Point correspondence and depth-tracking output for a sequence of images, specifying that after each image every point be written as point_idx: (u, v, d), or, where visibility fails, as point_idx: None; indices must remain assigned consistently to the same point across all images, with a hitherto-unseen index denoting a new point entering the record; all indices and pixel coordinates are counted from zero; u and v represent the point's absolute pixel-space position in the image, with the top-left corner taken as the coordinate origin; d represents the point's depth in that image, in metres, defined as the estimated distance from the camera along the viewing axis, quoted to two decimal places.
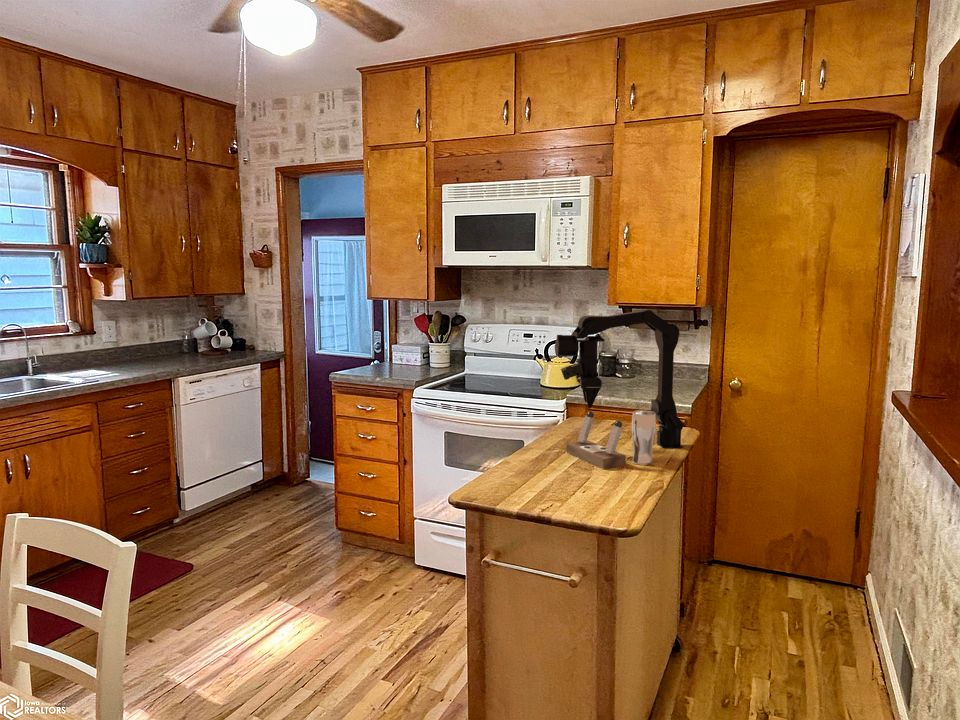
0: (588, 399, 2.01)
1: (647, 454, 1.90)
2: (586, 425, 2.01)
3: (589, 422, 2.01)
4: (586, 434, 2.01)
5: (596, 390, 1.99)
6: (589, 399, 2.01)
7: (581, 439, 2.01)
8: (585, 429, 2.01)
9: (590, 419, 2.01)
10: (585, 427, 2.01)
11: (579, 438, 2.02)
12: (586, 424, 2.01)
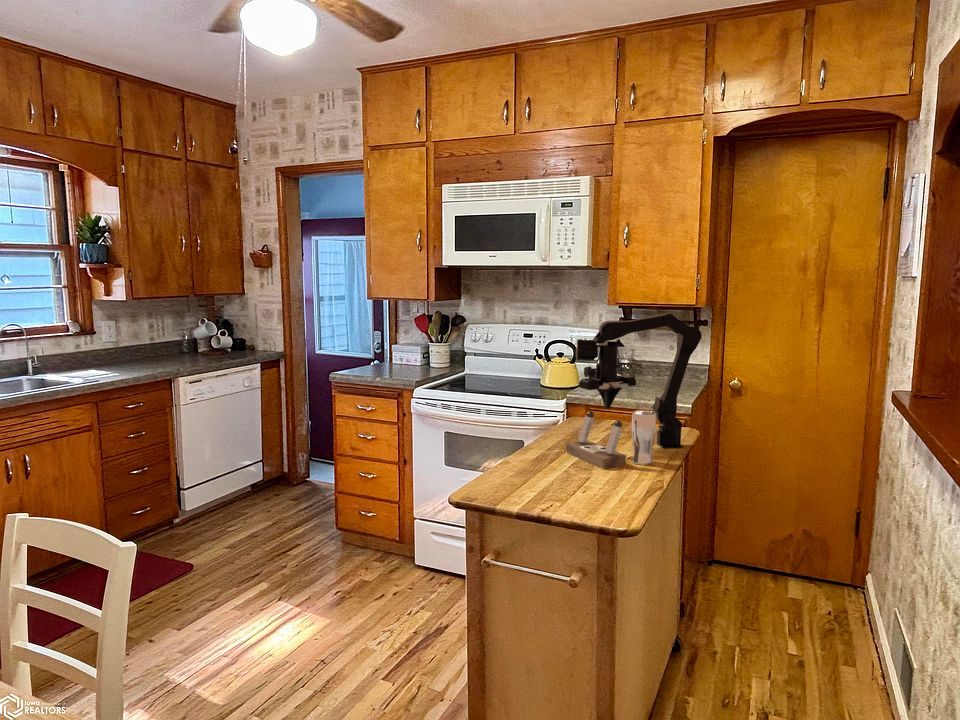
0: (603, 400, 2.10)
1: (647, 454, 1.90)
2: (586, 425, 2.01)
3: (589, 422, 2.01)
4: (586, 434, 2.01)
5: (605, 392, 2.07)
6: (604, 400, 2.09)
7: (581, 439, 2.01)
8: (585, 429, 2.01)
9: (590, 419, 2.01)
10: (585, 427, 2.01)
11: (579, 438, 2.02)
12: (586, 424, 2.01)
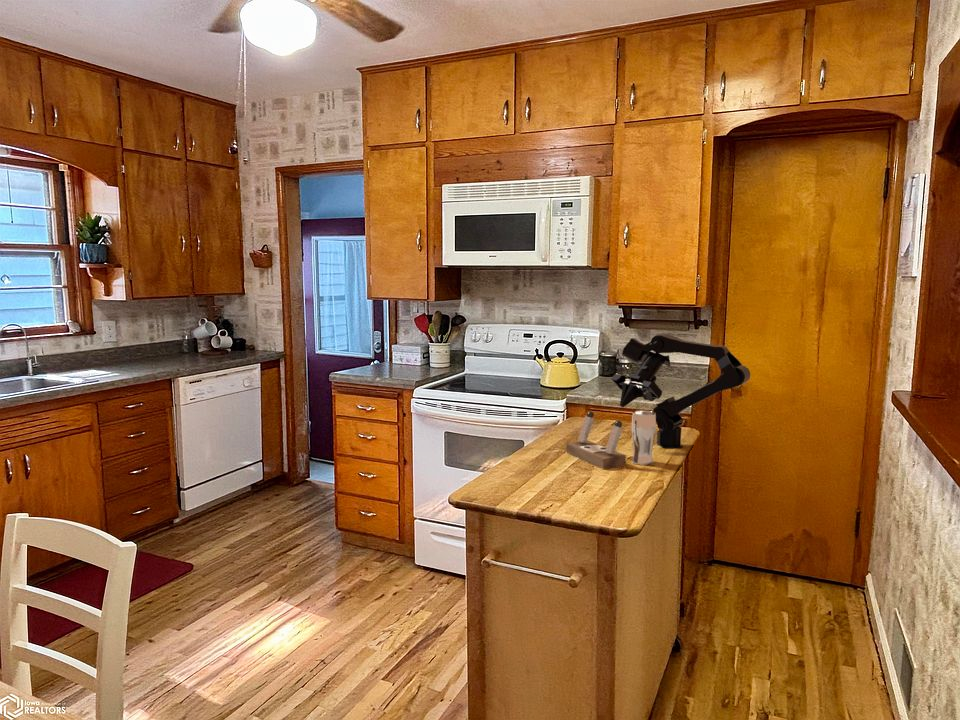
0: None
1: (647, 454, 1.90)
2: (586, 425, 2.01)
3: (589, 422, 2.01)
4: (586, 434, 2.01)
5: None
6: None
7: (581, 439, 2.01)
8: (585, 429, 2.01)
9: (590, 419, 2.01)
10: (585, 427, 2.01)
11: (579, 438, 2.02)
12: (586, 424, 2.01)
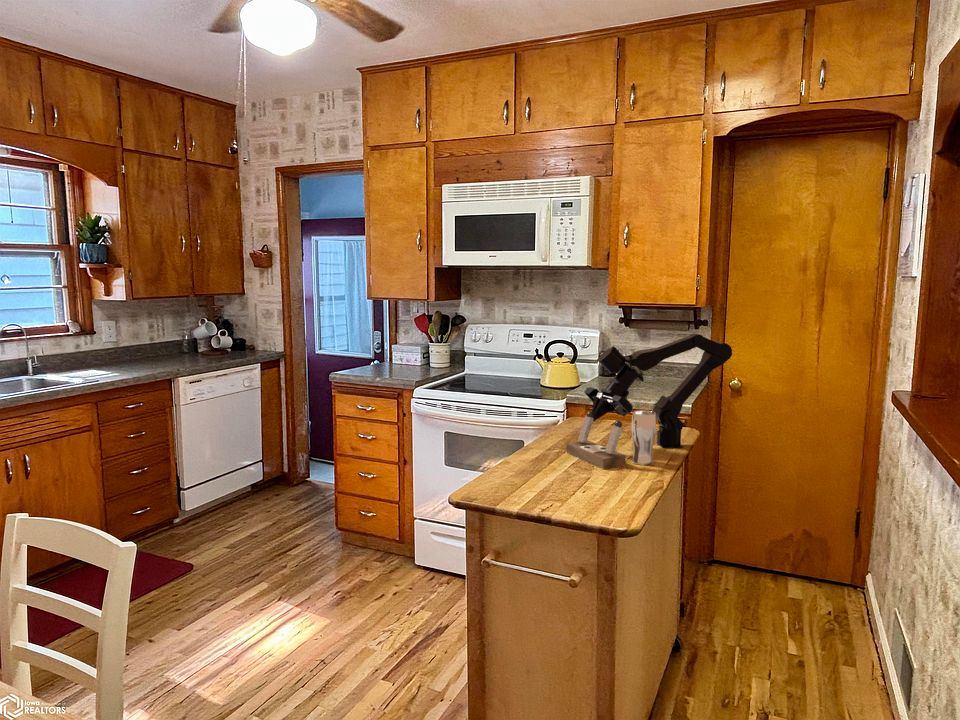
0: None
1: (647, 454, 1.90)
2: (586, 425, 2.01)
3: (589, 422, 2.01)
4: (586, 434, 2.01)
5: None
6: None
7: (581, 439, 2.01)
8: (585, 429, 2.01)
9: (590, 419, 2.01)
10: (585, 427, 2.01)
11: (579, 438, 2.02)
12: (586, 424, 2.01)
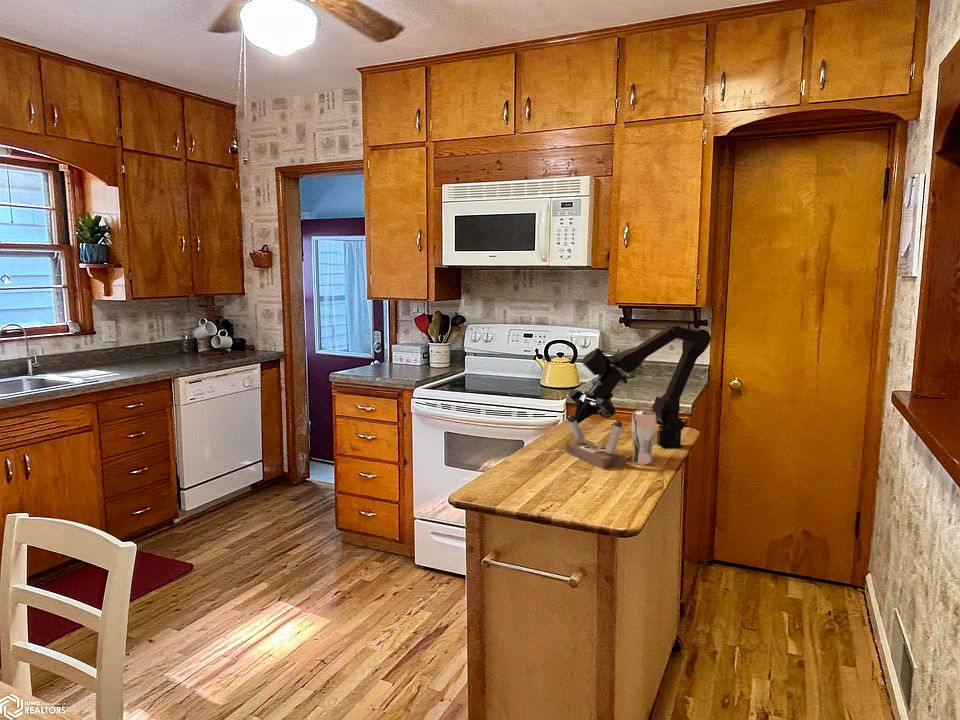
0: None
1: (647, 454, 1.90)
2: (574, 429, 1.99)
3: (575, 426, 1.99)
4: (580, 436, 2.00)
5: None
6: None
7: (580, 441, 2.01)
8: (576, 433, 2.00)
9: (574, 423, 1.98)
10: (575, 431, 2.00)
11: (577, 440, 2.02)
12: (574, 428, 1.99)
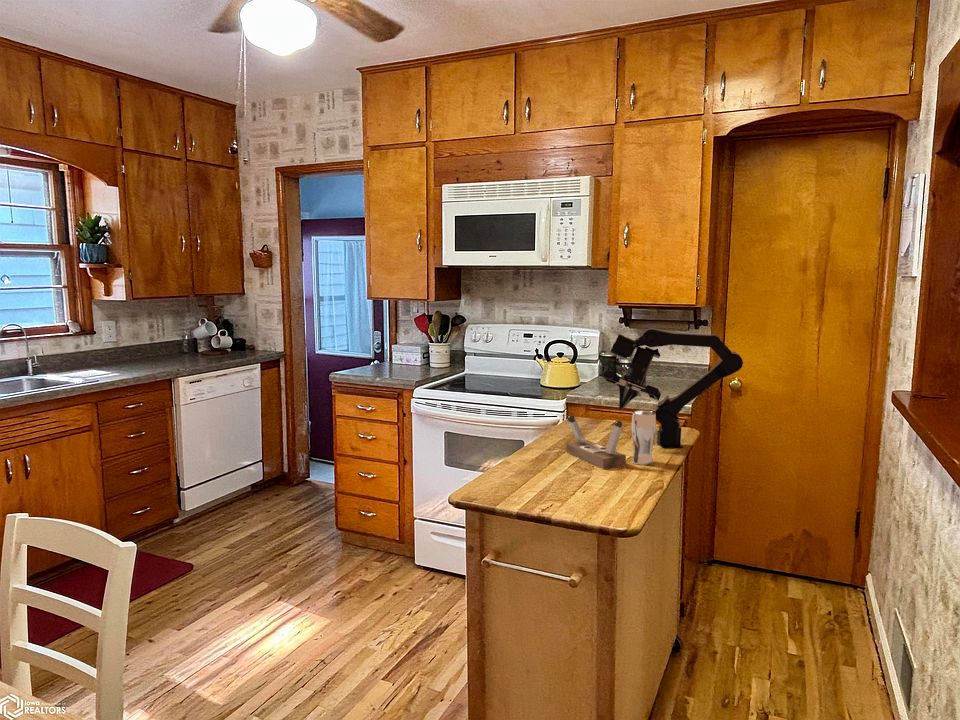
0: None
1: (647, 454, 1.90)
2: (574, 429, 1.99)
3: (575, 426, 1.99)
4: (580, 436, 2.00)
5: None
6: None
7: (580, 441, 2.01)
8: (576, 433, 2.00)
9: (574, 423, 1.98)
10: (575, 431, 2.00)
11: (577, 440, 2.02)
12: (574, 428, 1.99)
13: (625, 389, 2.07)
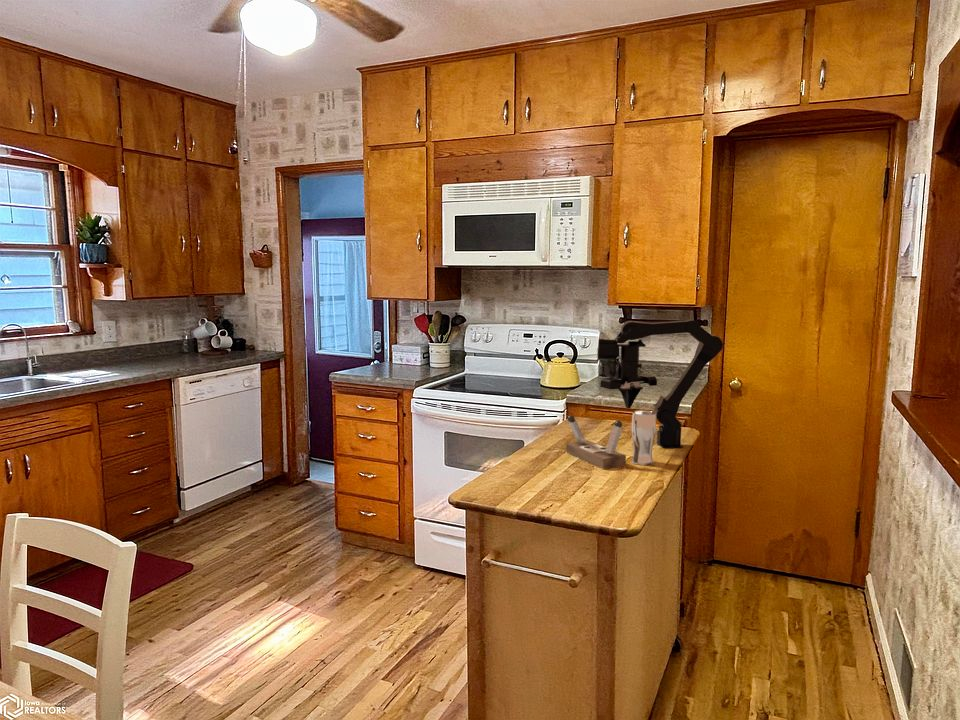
0: (625, 400, 2.10)
1: (647, 454, 1.90)
2: (574, 429, 1.99)
3: (575, 426, 1.99)
4: (580, 436, 2.00)
5: (627, 392, 2.07)
6: (625, 399, 2.10)
7: (580, 441, 2.01)
8: (576, 433, 2.00)
9: (574, 423, 1.98)
10: (575, 431, 2.00)
11: (577, 440, 2.02)
12: (574, 428, 1.99)
13: None
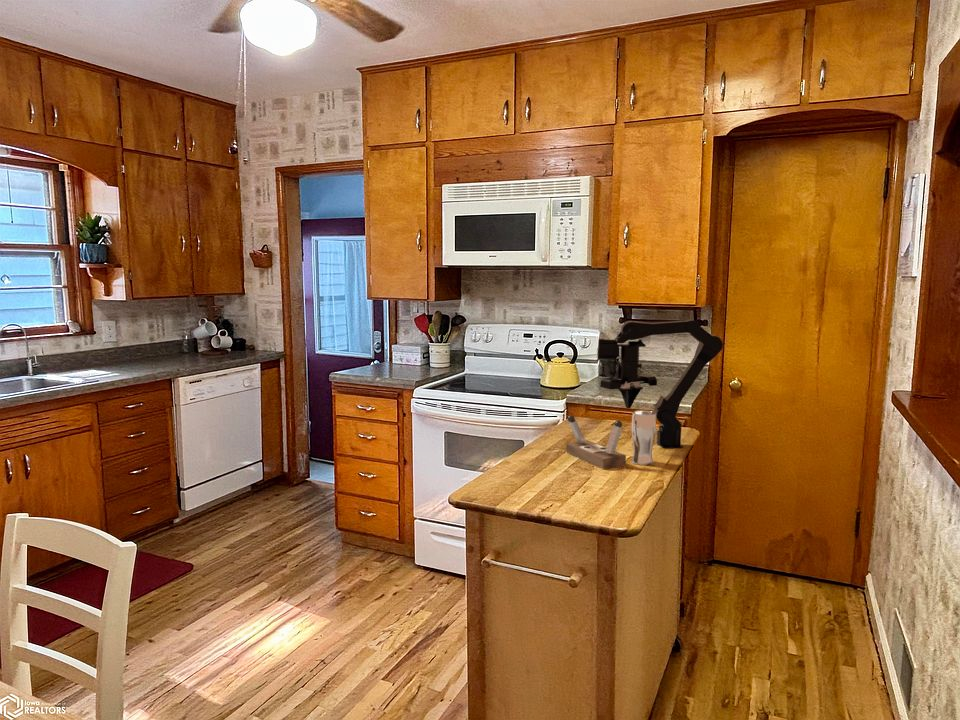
0: (625, 400, 2.10)
1: (647, 454, 1.90)
2: (574, 429, 1.99)
3: (575, 426, 1.99)
4: (580, 436, 2.00)
5: (627, 392, 2.07)
6: (625, 399, 2.10)
7: (580, 441, 2.01)
8: (576, 433, 2.00)
9: (574, 423, 1.98)
10: (575, 431, 2.00)
11: (577, 440, 2.02)
12: (574, 428, 1.99)
13: None
